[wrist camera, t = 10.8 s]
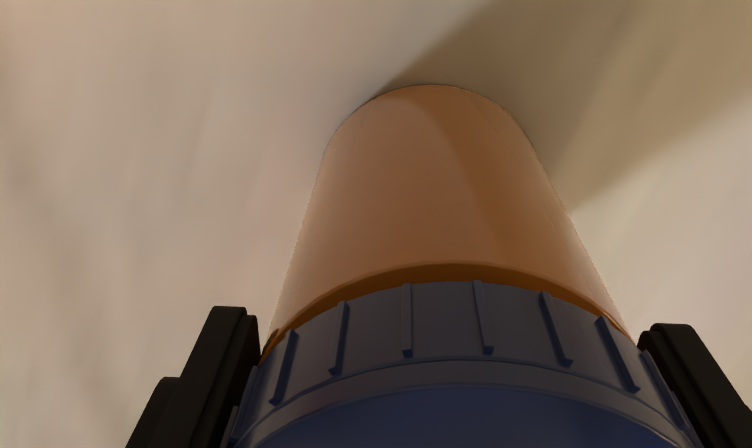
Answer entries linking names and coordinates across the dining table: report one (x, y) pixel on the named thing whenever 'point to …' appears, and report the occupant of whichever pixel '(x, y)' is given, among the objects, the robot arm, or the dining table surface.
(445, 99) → the honey jar
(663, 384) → the jar lid
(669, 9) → the dining table surface
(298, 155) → the dining table surface
